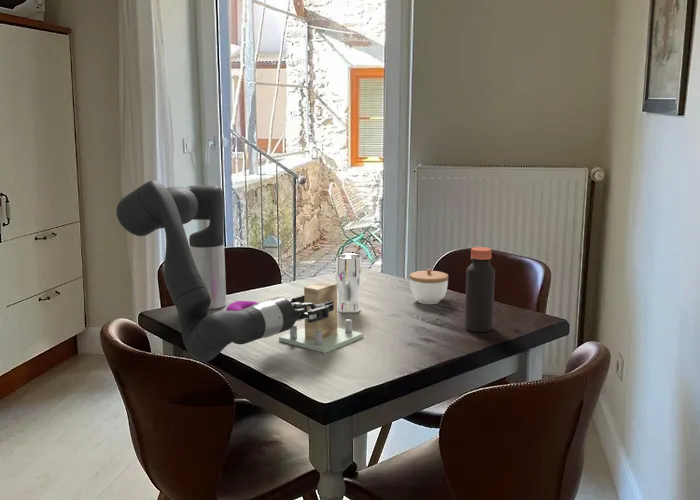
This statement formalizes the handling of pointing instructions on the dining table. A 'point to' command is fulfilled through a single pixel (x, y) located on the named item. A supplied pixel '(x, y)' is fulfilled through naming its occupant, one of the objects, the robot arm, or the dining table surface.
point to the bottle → (480, 291)
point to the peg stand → (321, 344)
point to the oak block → (318, 296)
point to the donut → (240, 305)
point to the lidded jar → (428, 286)
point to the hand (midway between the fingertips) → (318, 302)
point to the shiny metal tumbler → (348, 282)
